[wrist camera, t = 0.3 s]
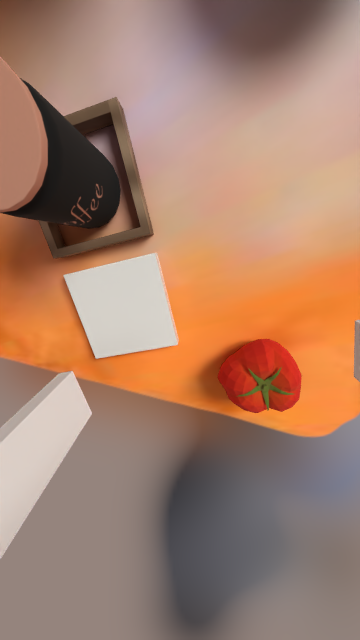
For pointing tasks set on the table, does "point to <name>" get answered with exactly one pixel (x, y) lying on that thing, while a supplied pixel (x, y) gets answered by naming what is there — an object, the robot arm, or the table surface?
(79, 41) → the table surface
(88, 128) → the holder
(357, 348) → the robot arm
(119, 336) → the tile
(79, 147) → the coffee jar
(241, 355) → the tomato
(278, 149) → the table surface
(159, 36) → the table surface
